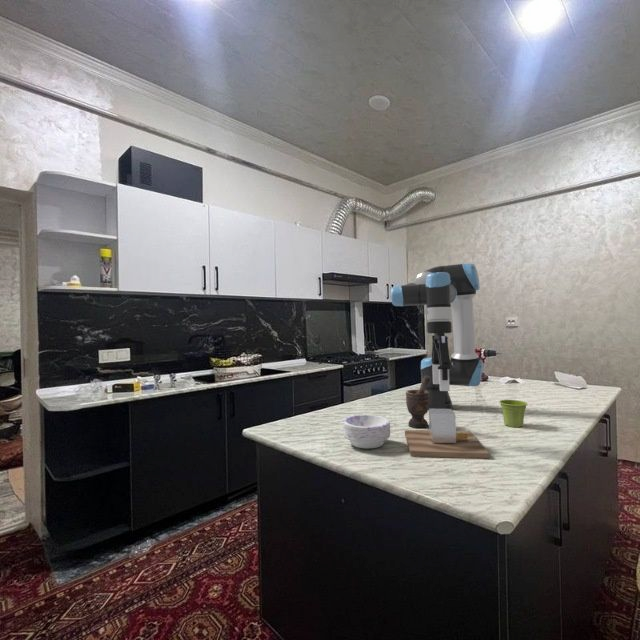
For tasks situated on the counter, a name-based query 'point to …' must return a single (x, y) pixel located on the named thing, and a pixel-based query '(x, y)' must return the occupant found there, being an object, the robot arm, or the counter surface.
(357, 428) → the paper bowls
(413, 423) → the mortar and pestle
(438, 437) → the grey block with bar
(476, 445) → the board
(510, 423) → the plant pot
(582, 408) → the counter surface
